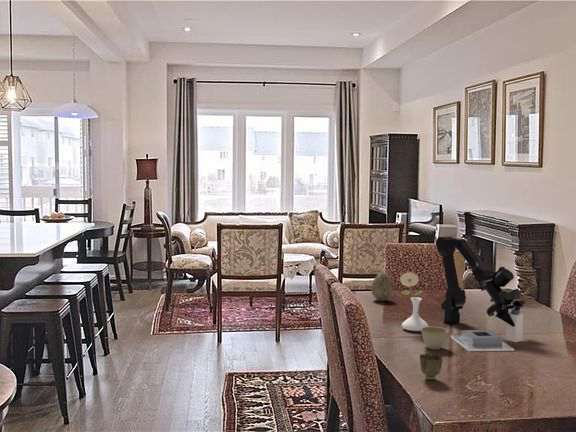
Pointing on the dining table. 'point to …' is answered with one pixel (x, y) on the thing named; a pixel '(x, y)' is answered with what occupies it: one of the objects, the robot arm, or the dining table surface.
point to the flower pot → (434, 337)
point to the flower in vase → (414, 321)
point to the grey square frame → (481, 341)
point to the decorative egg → (382, 287)
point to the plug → (515, 327)
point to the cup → (431, 365)
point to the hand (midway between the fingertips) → (517, 325)
